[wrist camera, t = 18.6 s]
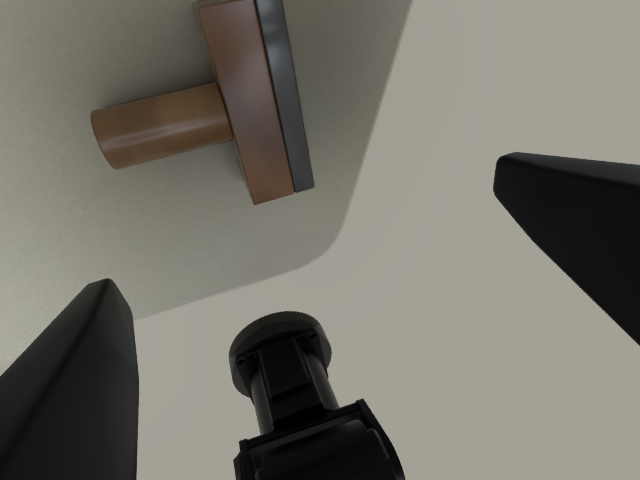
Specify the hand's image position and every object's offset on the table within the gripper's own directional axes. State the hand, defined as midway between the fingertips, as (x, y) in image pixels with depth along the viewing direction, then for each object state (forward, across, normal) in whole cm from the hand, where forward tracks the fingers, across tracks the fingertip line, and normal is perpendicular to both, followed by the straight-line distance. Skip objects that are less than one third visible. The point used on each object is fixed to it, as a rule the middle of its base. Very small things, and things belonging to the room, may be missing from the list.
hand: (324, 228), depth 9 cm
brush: (+10, -2, 0) cm, 11 cm away
